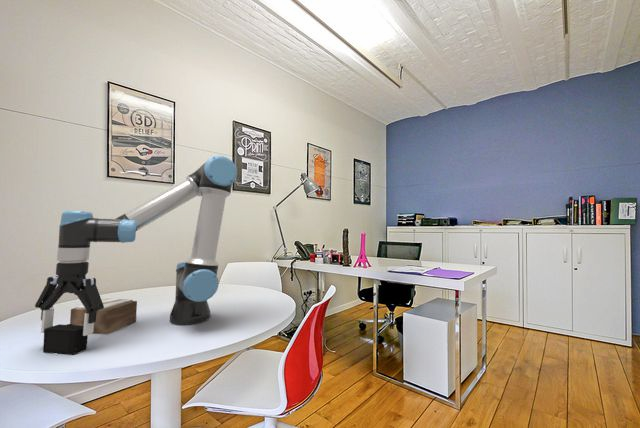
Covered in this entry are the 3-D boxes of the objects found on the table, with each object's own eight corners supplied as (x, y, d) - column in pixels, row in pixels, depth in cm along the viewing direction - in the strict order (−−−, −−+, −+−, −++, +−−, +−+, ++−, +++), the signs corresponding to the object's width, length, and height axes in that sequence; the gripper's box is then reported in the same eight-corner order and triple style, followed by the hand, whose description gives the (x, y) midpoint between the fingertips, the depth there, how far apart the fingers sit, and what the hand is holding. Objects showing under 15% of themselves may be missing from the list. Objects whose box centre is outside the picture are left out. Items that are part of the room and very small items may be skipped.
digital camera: (91, 347, 90) (92, 324, 90) (73, 355, 84) (75, 330, 85) (61, 345, 91) (62, 322, 91) (42, 352, 86) (44, 328, 86)
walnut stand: (136, 321, 115) (137, 299, 115) (106, 334, 101) (108, 308, 101) (102, 320, 116) (104, 298, 117) (69, 332, 102) (71, 307, 103)
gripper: (120, 261, 92) (115, 331, 91) (48, 258, 94) (42, 326, 93) (100, 264, 84) (94, 339, 83) (22, 261, 87) (16, 334, 85)
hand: (67, 332), depth 88 cm, fingers open, 13 cm apart
